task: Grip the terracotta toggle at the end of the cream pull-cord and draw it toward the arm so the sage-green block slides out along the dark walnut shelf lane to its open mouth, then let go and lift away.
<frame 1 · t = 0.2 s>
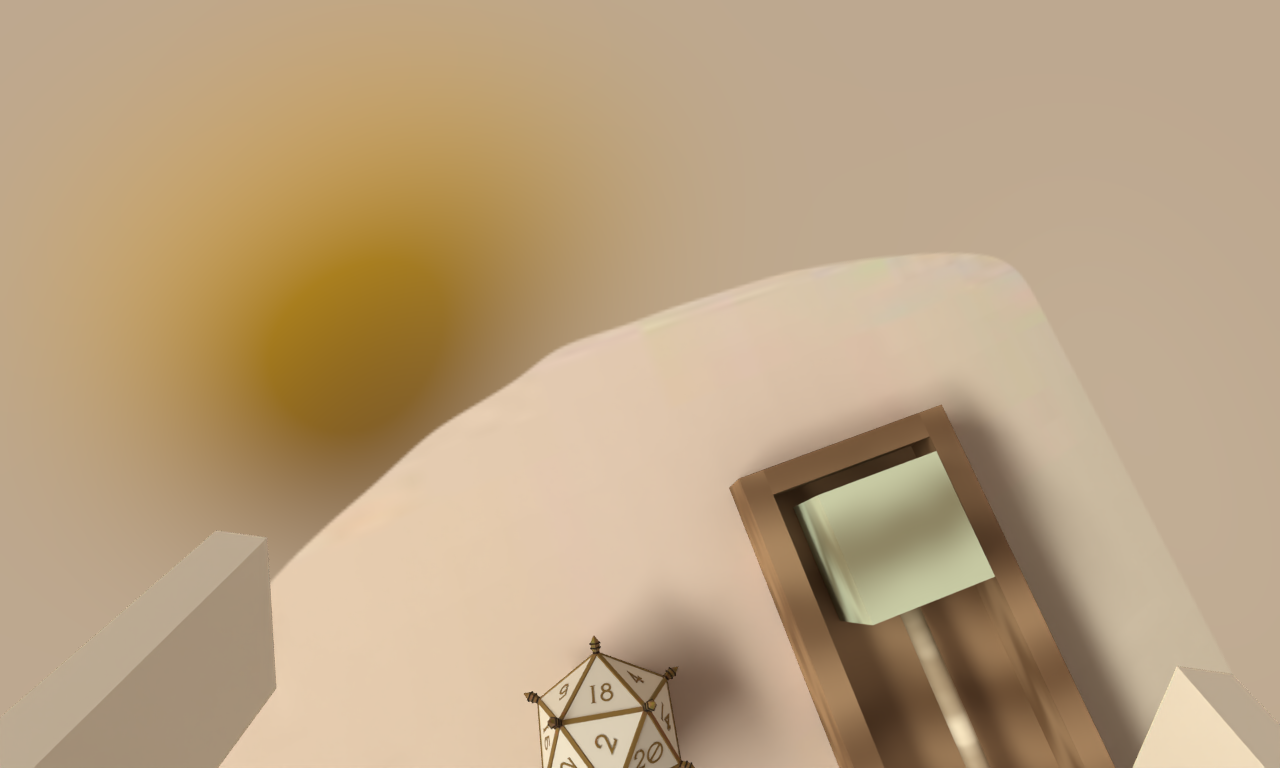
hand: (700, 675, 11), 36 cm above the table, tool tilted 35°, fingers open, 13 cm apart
shelf lane: (933, 707, 44), on the table
game die: (608, 718, 44), on the table
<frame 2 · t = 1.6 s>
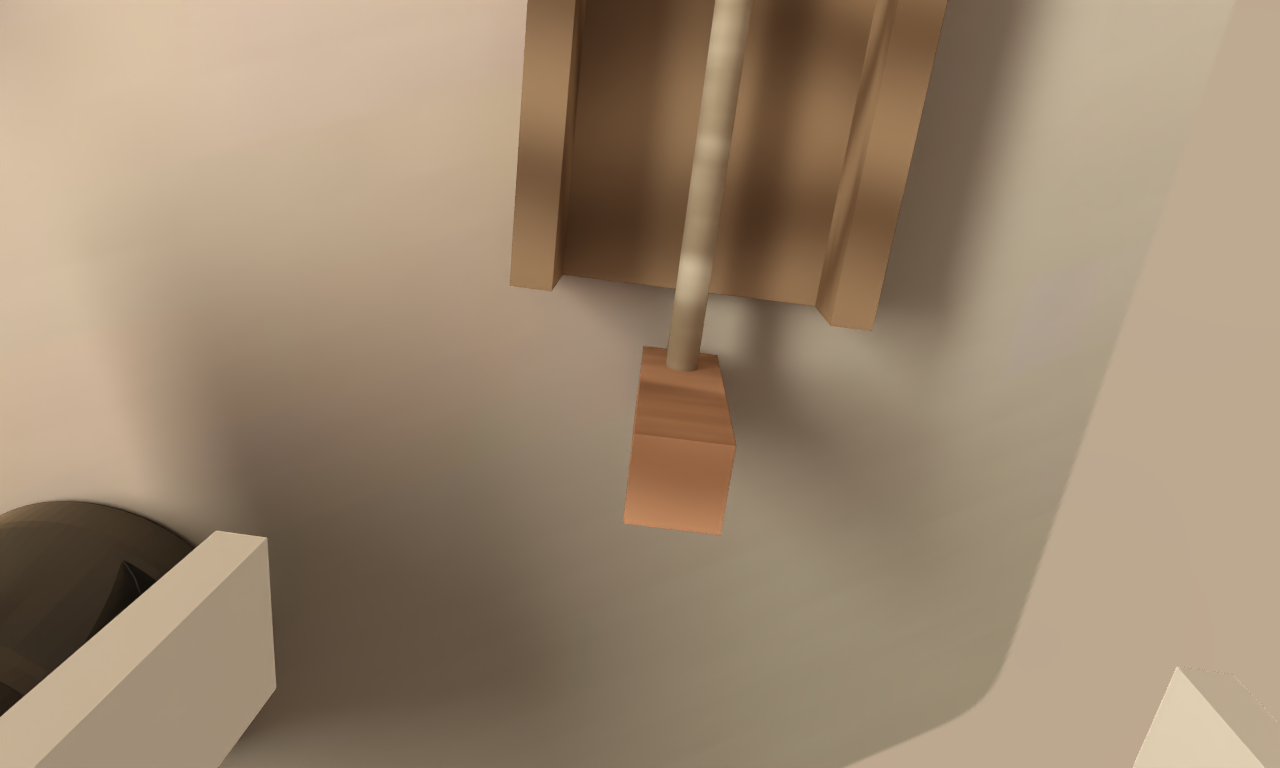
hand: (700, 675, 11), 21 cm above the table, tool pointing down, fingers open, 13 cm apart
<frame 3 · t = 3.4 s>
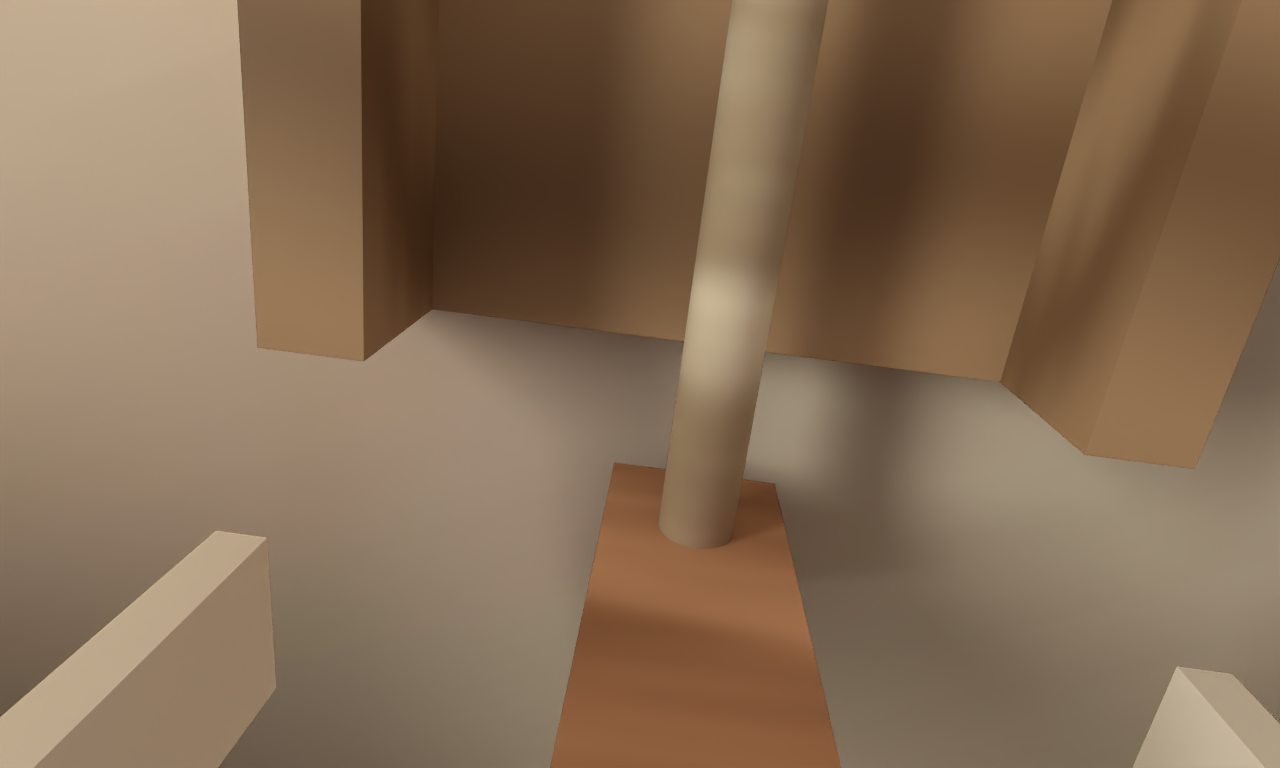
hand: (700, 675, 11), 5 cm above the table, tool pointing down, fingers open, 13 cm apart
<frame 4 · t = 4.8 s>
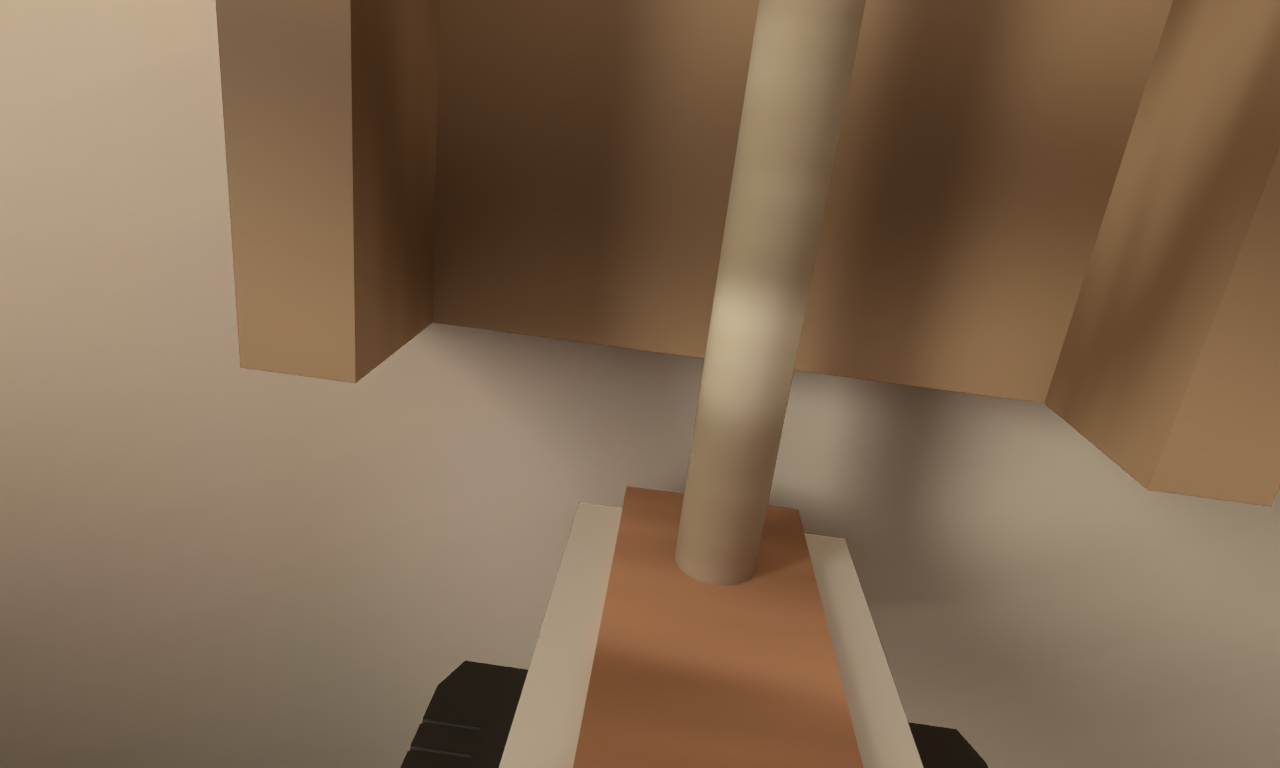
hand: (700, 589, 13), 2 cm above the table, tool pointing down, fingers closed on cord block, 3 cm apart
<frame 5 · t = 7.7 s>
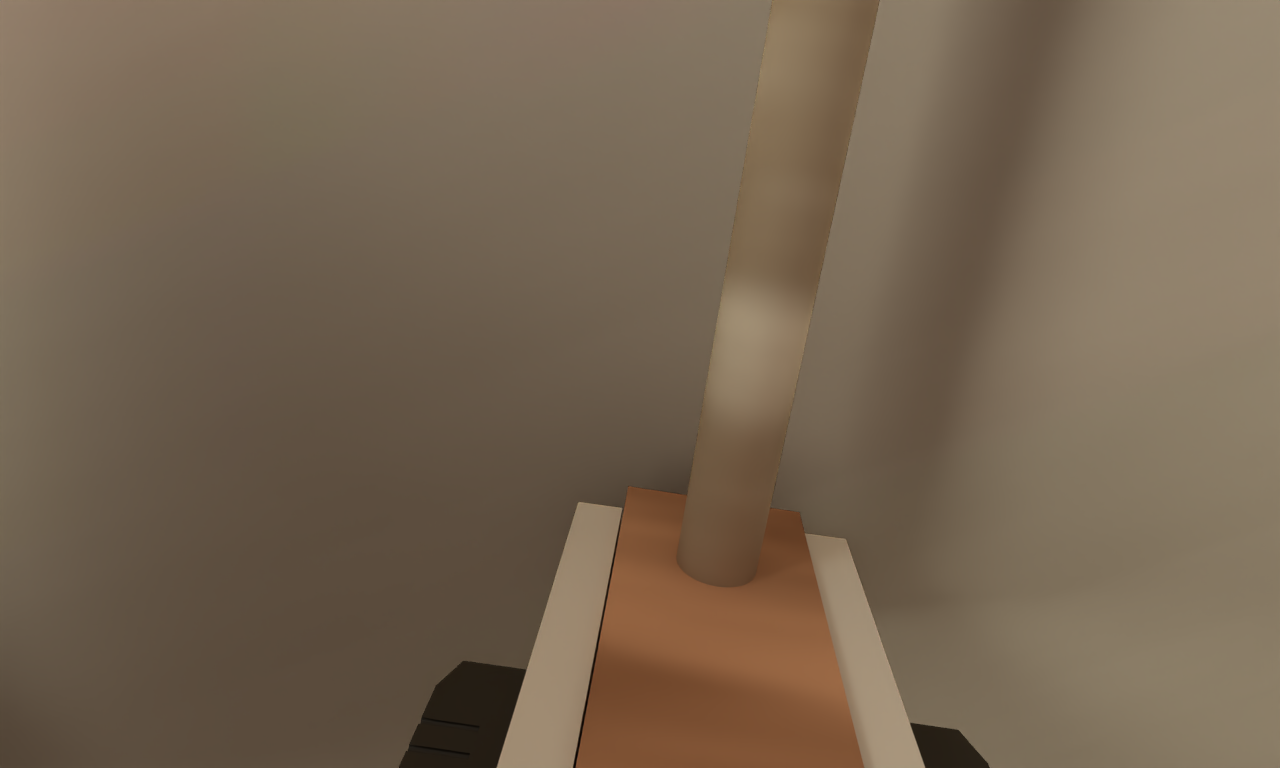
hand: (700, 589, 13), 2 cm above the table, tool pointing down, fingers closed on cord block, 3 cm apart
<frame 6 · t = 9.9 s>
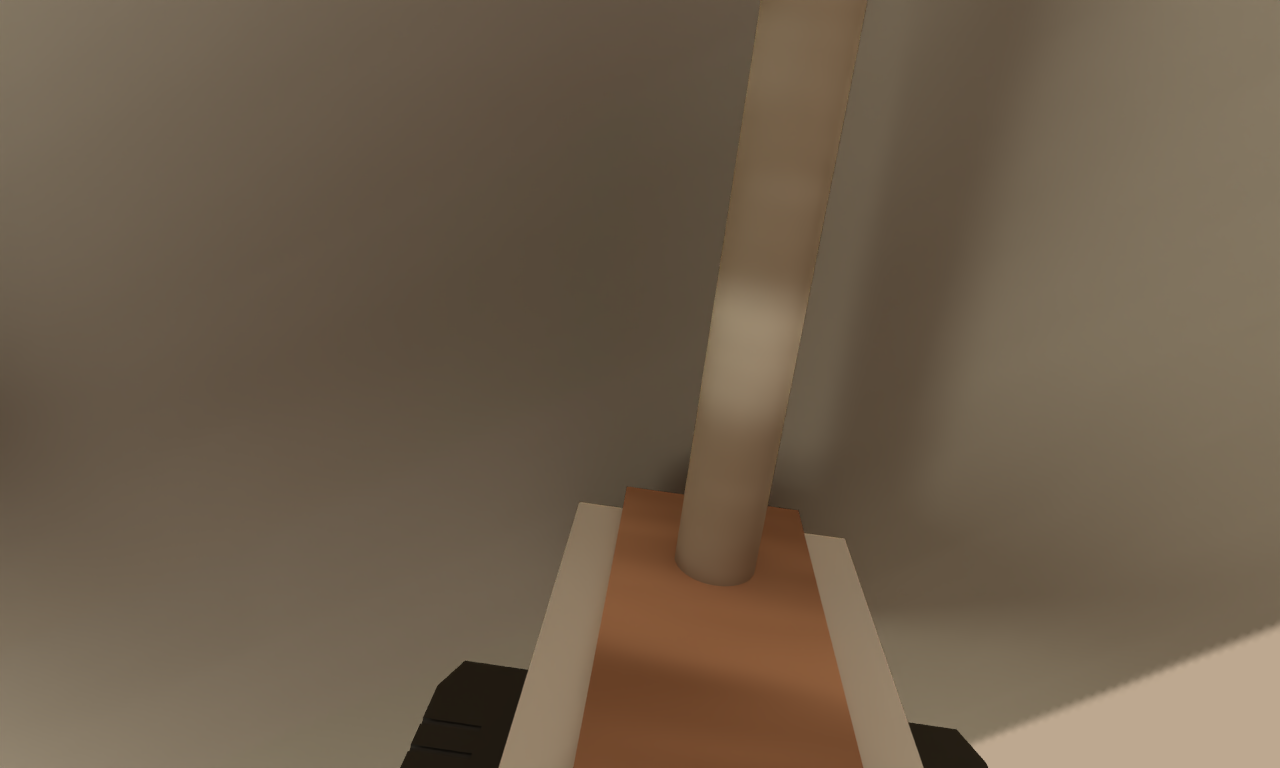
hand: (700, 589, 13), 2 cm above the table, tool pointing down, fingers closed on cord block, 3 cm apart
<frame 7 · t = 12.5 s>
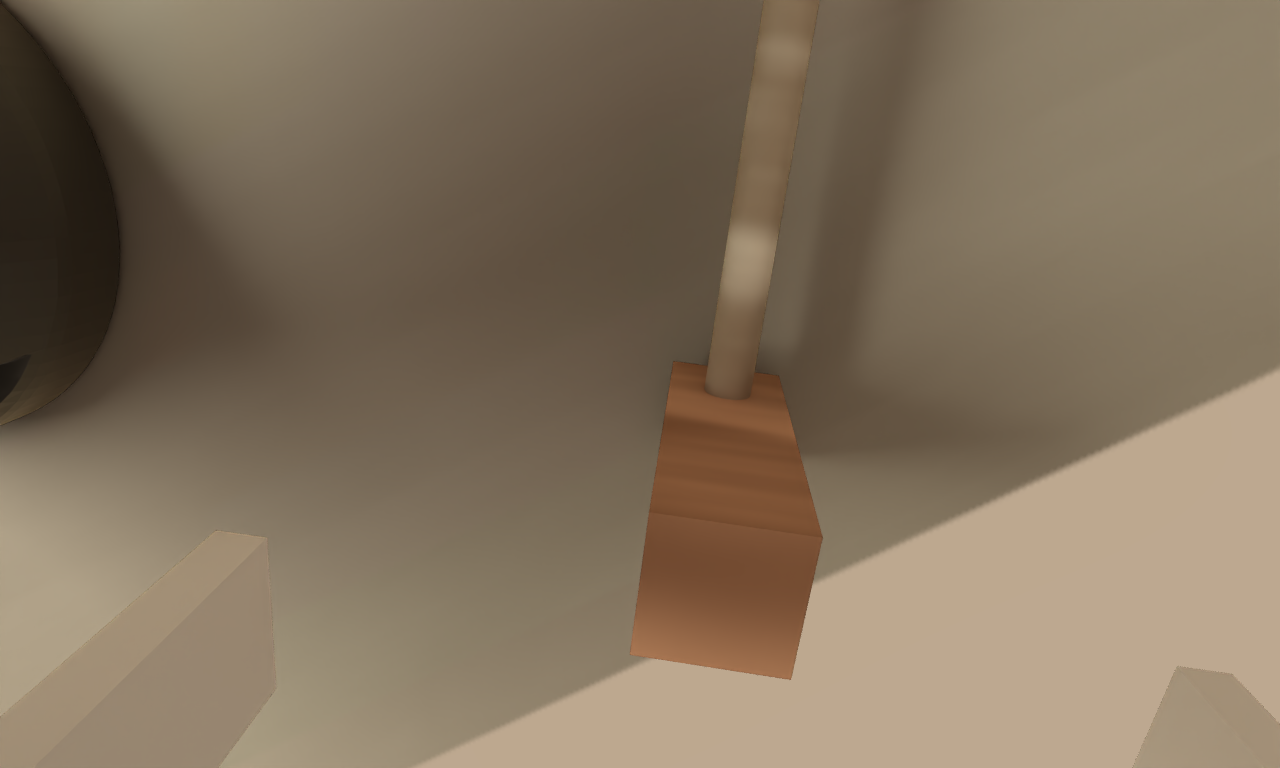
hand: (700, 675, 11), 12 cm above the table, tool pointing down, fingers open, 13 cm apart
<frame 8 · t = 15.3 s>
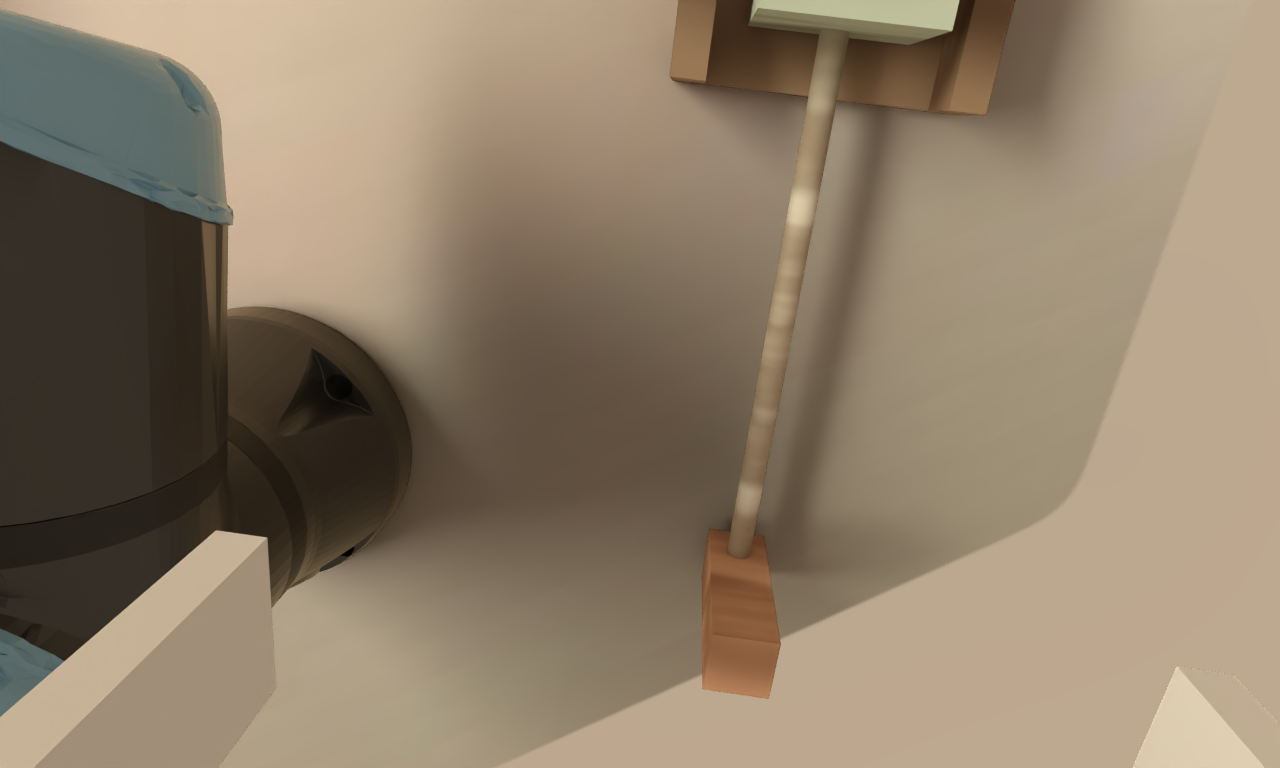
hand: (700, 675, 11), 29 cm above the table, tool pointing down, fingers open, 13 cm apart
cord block: (795, 293, 33), point 6 cm above the table, slide at 20.0 cm
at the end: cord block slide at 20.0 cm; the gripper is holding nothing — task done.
